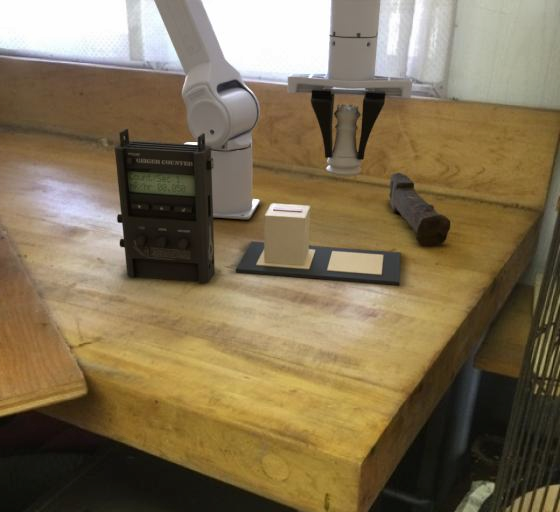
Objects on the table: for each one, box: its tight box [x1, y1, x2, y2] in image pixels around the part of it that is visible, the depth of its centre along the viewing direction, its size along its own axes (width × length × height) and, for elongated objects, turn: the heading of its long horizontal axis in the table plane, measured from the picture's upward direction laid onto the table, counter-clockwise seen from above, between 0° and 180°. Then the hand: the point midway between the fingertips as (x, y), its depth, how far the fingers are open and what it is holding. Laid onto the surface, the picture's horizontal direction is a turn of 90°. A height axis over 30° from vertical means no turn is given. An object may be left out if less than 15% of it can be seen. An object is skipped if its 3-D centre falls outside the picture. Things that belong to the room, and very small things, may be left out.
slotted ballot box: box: [263, 202, 311, 265], centre depth 79 cm, size 4×4×6 cm
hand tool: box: [389, 172, 451, 247], centre depth 92 cm, size 19×4×5 cm, turn 5°
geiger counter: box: [114, 128, 216, 285], centre depth 72 cm, size 10×4×15 cm, turn 80°
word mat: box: [235, 241, 402, 286], centre depth 80 cm, size 18×9×1 cm, turn 81°
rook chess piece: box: [325, 103, 362, 178], centre depth 86 cm, size 4×4×8 cm
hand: (344, 156), depth 86 cm, fingers closed on rook chess piece, 3 cm apart
